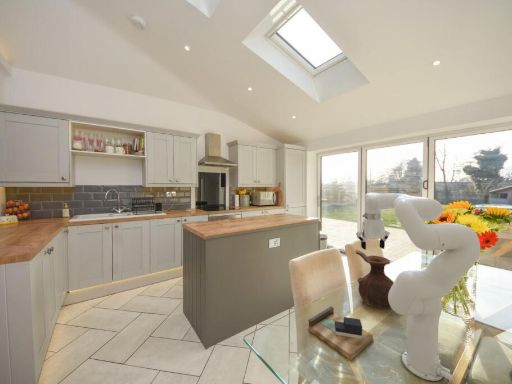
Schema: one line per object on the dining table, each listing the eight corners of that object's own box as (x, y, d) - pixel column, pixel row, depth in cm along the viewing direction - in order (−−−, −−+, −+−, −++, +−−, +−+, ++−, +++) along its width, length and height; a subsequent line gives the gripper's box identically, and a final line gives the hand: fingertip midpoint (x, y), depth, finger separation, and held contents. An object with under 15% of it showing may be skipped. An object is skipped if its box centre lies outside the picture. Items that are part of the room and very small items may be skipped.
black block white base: (359, 331, 100) (359, 319, 99) (361, 339, 95) (362, 326, 94) (334, 327, 102) (334, 315, 102) (335, 334, 98) (335, 322, 97)
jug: (375, 290, 139) (375, 245, 137) (409, 309, 119) (410, 256, 117) (349, 298, 131) (349, 250, 129) (381, 319, 111) (381, 263, 109)
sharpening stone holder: (372, 340, 97) (372, 328, 97) (351, 360, 87) (350, 347, 87) (331, 315, 115) (331, 306, 115) (308, 330, 105) (308, 319, 105)
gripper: (360, 218, 108) (360, 251, 109) (393, 217, 108) (393, 250, 109) (353, 215, 116) (353, 246, 117) (384, 214, 116) (384, 245, 117)
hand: (372, 248), depth 113 cm, fingers open, 9 cm apart
